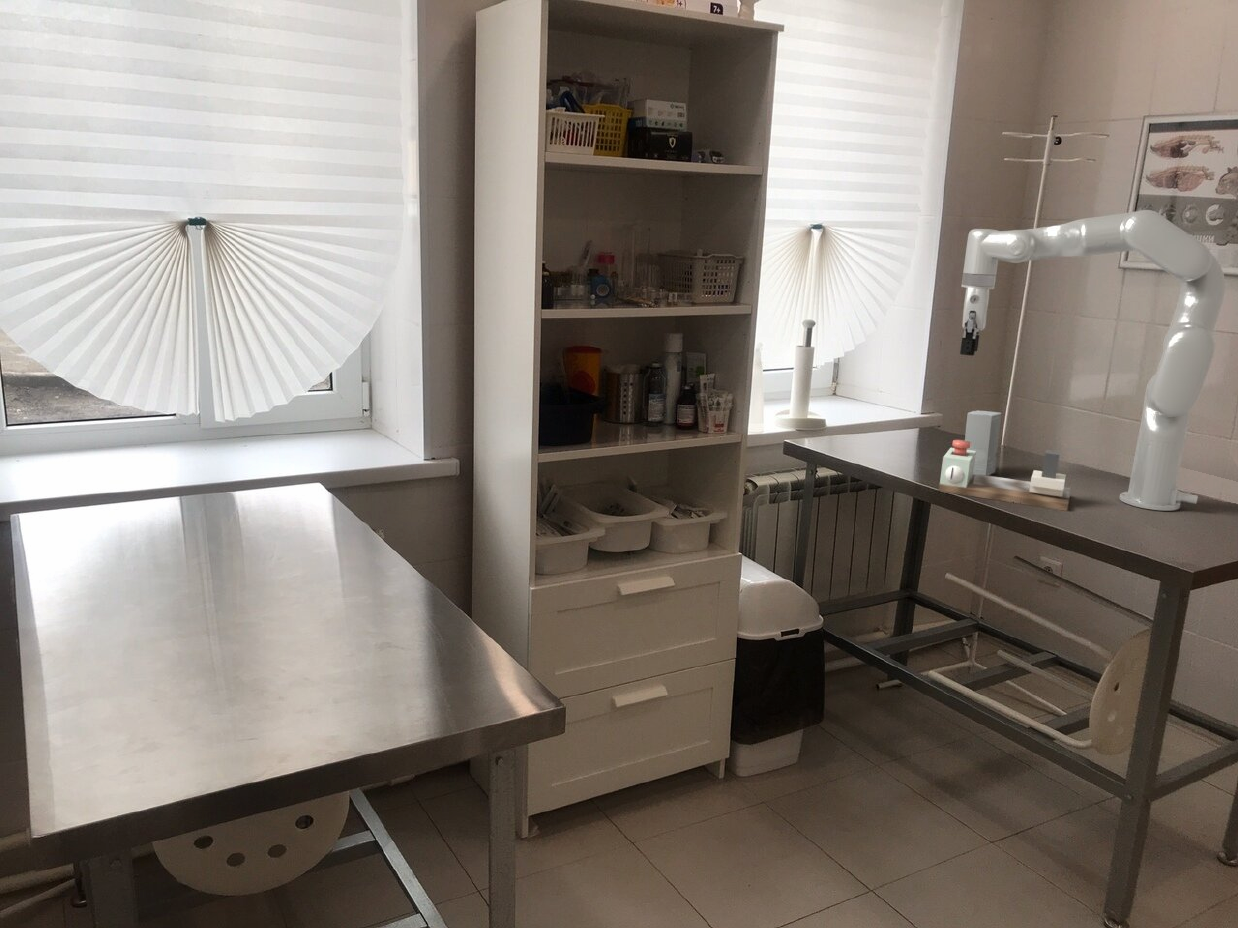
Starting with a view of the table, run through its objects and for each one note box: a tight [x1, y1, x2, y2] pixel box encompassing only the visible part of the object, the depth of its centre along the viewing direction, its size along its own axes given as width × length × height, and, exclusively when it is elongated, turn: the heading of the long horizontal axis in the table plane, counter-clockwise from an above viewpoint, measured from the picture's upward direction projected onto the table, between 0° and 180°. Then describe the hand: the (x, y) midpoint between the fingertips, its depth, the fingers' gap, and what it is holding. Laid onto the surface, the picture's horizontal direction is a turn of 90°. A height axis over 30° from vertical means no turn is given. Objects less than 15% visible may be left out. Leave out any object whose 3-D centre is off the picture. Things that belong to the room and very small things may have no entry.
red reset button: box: [952, 439, 970, 456], centre depth 236 cm, size 4×4×3 cm
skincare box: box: [964, 409, 1003, 476], centre depth 251 cm, size 8×7×16 cm
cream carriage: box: [1029, 449, 1067, 497], centre depth 228 cm, size 7×8×9 cm
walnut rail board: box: [937, 474, 1072, 512], centre depth 233 cm, size 28×14×4 cm, turn 64°
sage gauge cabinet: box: [939, 447, 976, 488], centre depth 237 cm, size 6×12×6 cm, turn 154°
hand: (968, 352), depth 242 cm, fingers open, 9 cm apart
